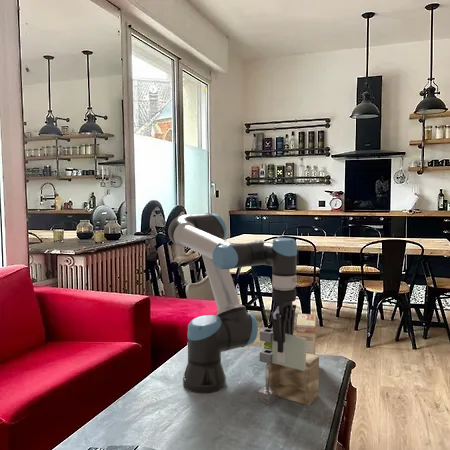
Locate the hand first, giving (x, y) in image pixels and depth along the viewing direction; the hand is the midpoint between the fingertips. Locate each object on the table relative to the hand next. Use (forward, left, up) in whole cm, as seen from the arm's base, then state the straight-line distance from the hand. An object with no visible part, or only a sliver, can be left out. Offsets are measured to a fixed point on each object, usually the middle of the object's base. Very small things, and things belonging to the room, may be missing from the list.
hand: (283, 360), depth 144 cm
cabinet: (0, +5, -15) cm, 15 cm away
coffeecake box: (-6, +30, -15) cm, 34 cm away
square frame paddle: (0, 0, -1) cm, 1 cm away
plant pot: (-17, +26, -15) cm, 34 cm away
